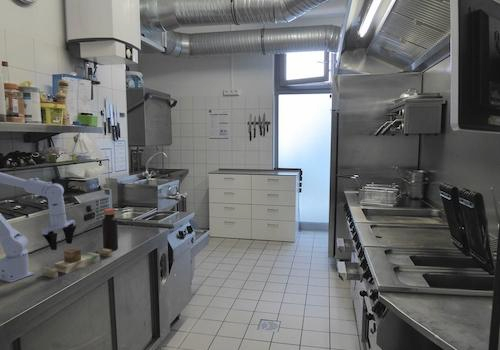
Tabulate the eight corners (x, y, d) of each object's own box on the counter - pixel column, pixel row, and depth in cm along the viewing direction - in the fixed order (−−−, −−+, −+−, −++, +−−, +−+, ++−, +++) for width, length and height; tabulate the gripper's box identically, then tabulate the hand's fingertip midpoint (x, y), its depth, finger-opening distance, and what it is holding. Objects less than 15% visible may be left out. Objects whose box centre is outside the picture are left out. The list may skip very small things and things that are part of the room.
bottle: (113, 251, 170) (111, 211, 168) (100, 250, 172) (98, 210, 170) (120, 247, 177) (119, 208, 175) (108, 246, 178) (107, 207, 176)
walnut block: (71, 263, 146) (71, 252, 146) (64, 261, 148) (63, 251, 148) (81, 259, 150) (80, 249, 150) (73, 258, 152) (73, 248, 152)
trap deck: (54, 278, 138) (54, 270, 138) (42, 275, 141) (42, 267, 141) (112, 256, 164) (112, 249, 164) (101, 253, 167) (101, 247, 167)
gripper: (50, 218, 134) (54, 253, 136) (79, 209, 148) (83, 241, 149) (36, 218, 136) (40, 252, 138) (66, 209, 150) (70, 240, 152)
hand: (61, 246), depth 144 cm, fingers open, 7 cm apart
